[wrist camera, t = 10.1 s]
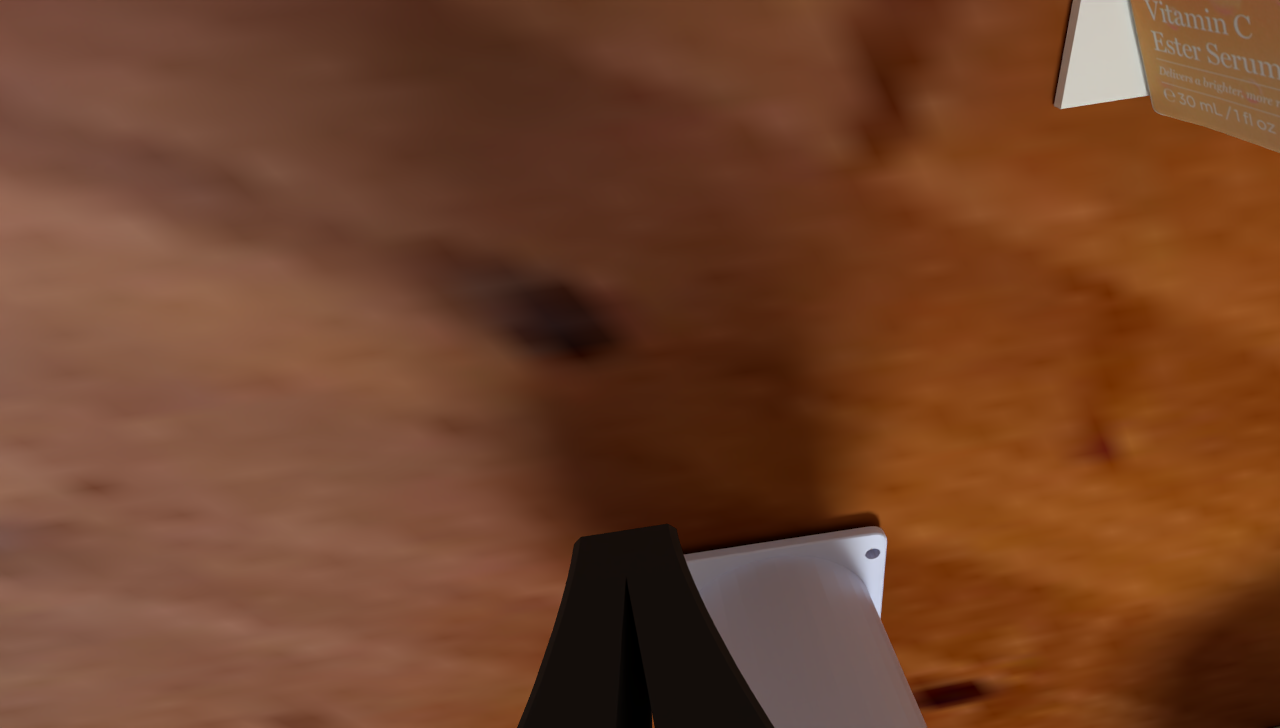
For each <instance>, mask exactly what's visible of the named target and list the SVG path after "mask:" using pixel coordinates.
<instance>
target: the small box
mask: <svg viewBox="0 0 1280 728" xmlns="http://www.w3.org/2000/svg"><path fill="white" fill-rule="evenodd" d="M1130 3H1131V7H1132V13H1133V17H1134V22H1135V27H1136V32H1137V36H1138V42H1139V46H1140V51H1141V56H1142V60H1143V65H1144V69H1145V74H1146V79H1147V83H1148V88H1149V93H1150V98H1151V102H1152V107H1153V109H1154V111H1156V112H1157V113H1159V114H1161V115H1165V116H1169V117H1173V118H1176V119H1179V120H1182V121H1187V122H1191V123H1194V124H1197V125H1201V126H1205V127H1207V128H1210V129H1213V130H1216V131H1220V132H1223V133H1226V134H1228V135H1231V136H1233V137H1236V138H1239V139H1242V140H1245V141H1248V142H1251V143H1254V144H1257V145H1260V146H1262V147H1265V148H1268V149H1270V150H1273V151H1276V152H1279V153H1280V0H1130Z"/></svg>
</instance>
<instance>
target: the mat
mask: <svg viewBox="0 0 1280 728" xmlns="http://www.w3.org/2000/svg"><path fill="white" fill-rule="evenodd" d="M1148 95H1150V93H1149V88H1148V83H1147V79H1146V74H1145V69H1144V65H1143V60H1142V56H1141V51H1140V46H1139V42H1138V36H1137V32H1136V27H1135V22H1134V17H1133V13H1132V7H1131V3H1130V0H1073V3H1072V8H1071V14H1070V19H1069V25H1068V30H1067V36H1066V41H1065V47H1064V52H1063V58H1062V63H1061V69H1060V74H1059V80H1058V85H1057V91H1056V96H1055V102H1054V106H1055V107H1057V108H1060V109H1063V108H1070V107H1076V106H1083V105H1089V104H1096V103H1102V102H1109V101H1115V100H1122V99H1128V98H1135V97H1141V96H1148Z"/></svg>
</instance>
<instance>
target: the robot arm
mask: <svg viewBox="0 0 1280 728" xmlns="http://www.w3.org/2000/svg"><path fill="white" fill-rule="evenodd" d="M886 548H887V538H886V535H885V533H884V531H883V530H882V529H881V528H880V527H877V526H869V527H862V528H855V529H849V530H842V531H836V532H829V533H822V534H816V535H809V536H803V537H796V538H790V539H783V540H776V541H770V542H763V543H757V544H750V545H744V546H737V547H730V548H724V549H717V550H711V551H704V552H698V553H691V554H683V551H682V548H681V545H680V542H679V538H678V534H677V529H676V528H674V527H672V526H671V525H669V524H663V525H657V526H650V527H644V528H637V529H631V530H624V531H617V532H611V533H604V534H598V535H591V536H585V537H580V538H579V540H578V541H577V542H576V543H575V544H574V548H573V554H572V559H571V564H570V569H569V573H568V578H567V582H566V586H565V590H564V593H563V597H562V601H561V604H560V608H559V611H558V614H557V618H556V621H555V625H554V628H553V631H552V634H551V637H550V640H549V643H548V646H547V649H546V652H545V655H544V658H543V660H542V663H541V666H540V669H539V672H538V675H537V678H536V681H535V684H534V686H533V689H532V692H531V695H530V697H529V700H528V702H527V705H526V707H525V710H524V712H523V715H522V717H521V720H520V722H519V725H518V727H517V728H652V714H653V720H654V726H655V728H927V726H926V724H925V721H924V719H923V717H922V714H921V712H920V710H919V707H918V705H917V703H916V700H915V698H914V696H913V694H912V691H911V689H910V687H909V684H908V682H907V680H906V677H905V675H904V673H903V670H902V668H901V666H900V663H899V661H898V659H897V656H896V654H895V652H894V649H893V647H892V645H891V643H890V640H889V638H888V636H887V633H886V631H885V629H884V626H883V624H882V622H881V607H882V595H883V583H884V572H885V560H886ZM870 549H871V550H870Z"/></svg>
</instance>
